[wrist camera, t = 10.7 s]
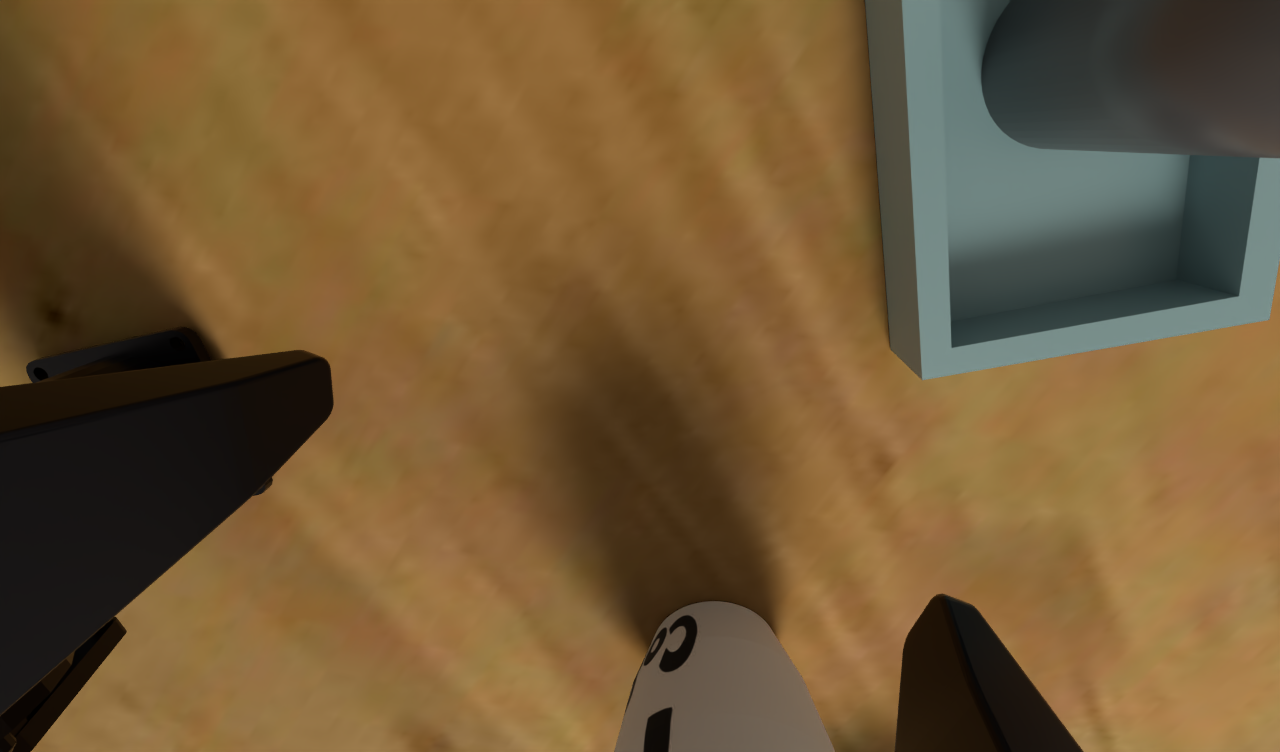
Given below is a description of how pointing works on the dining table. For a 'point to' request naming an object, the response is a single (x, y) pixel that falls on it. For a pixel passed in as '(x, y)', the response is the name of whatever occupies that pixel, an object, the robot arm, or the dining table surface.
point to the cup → (719, 689)
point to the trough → (1043, 217)
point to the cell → (1137, 76)
